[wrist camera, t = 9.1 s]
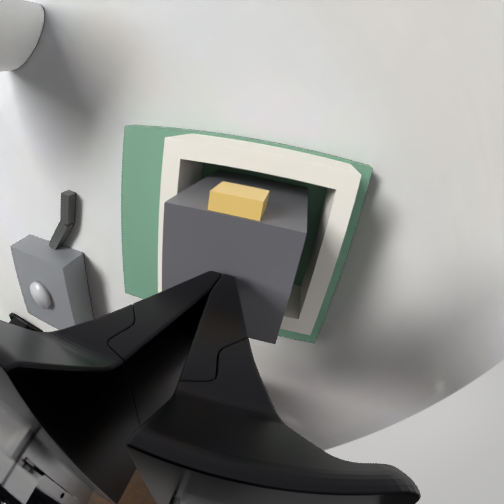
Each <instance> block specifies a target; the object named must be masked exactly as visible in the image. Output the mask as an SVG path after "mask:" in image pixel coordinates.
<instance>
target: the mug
mask: <svg viewBox="0 0 504 504" xmlns="http://www.w3.org/2000/svg"><path fill="white" fill-rule="evenodd" d="M43 24H44V10H43V8H42V6H41V5H40V4H38V3H34V2H30V1H25V0H0V71H10V70H15V69H18V68H19V67H21V66H22V65H23V64H24V63H25V62H26V61H27V59H28V58H29V57H30V55H31V54H32V52H33V50H34V49H35V47H36V45H37V42H38V40H39V38H40V35H41V32H42V28H43Z"/></svg>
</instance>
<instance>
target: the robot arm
mask: <svg viewBox="0 0 504 504" xmlns="http://www.w3.org/2000/svg"><path fill="white" fill-rule="evenodd" d="M9 316H10V319H11V321H10V322H9V323H7V322H4V321H1V320H0V504H4V502H5V503H6V504H87V503H88V502H89V500H90V498H91V496H92V494H93V493H95V494H96V495H98V496H100V497H102V498H104V499H106V500H108V501H110V502H112V503H114V504H118V502H119V501H120V499H121V497H122V495H123V493H124V491H125V489H126V487H127V486H128V484H129V482H130V480H131V478H132V476H133V474H134V472H135V470H136V469H138V471H139V473H140V475H141V477H142V479H143V480H144V482H145V484H146V486H147V488H148V489H149V491H150V493H151V495H152V496H153V498H154V500H155V501H156V503H157V504H415V503H416V502H417V501H418V500H419V499H420V497H421V495H420V492H419V490H418V487H417V486H416V485H415V483H414V482H413V481H412V479H410V478H409V477H408V476H407V475H406V474H405V473H403V472H402V471H401V470H399V469H398V468H396V467H394V466H391V465H387V464H377V463H375V464H374V463H373V464H372V463H370V464H369V463H355V462H349V461H345V460H341V459H339V458H336V457H333V456H331V455H330V454H328V453H326V452H325V451H323V450H322V449H320V448H318V447H317V446H315V445H314V444H312V443H311V442H309V441H308V440H307V439H305V438H304V437H302V436H301V435H299V434H298V433H296V432H295V431H294V430H292V429H291V428H289V427H288V426H287V425H285V424H284V422H283V421H282V420H281V419H280V418H279V416H278V414H277V413H276V411H275V409H274V406H273V404H272V402H271V400H270V397H269V395H268V393H267V391H266V388H265V386H264V384H263V381H262V379H261V377H260V374H259V372H258V369H257V367H256V364H255V361H254V358H253V354H252V351H251V347H250V342H249V339H248V333H247V329H246V324H245V319H244V315H243V310H242V305H241V300H240V295H239V290H238V286H237V281H236V277H235V276H232V275H227V274H223V275H222V273H219V272H215V271H208V272H205V273H203V274H201V275H198V276H196V277H194V278H191V279H189V280H187V281H185V282H182V283H180V284H178V285H175V286H173V287H171V288H168V289H166V290H164V291H161V292H159V293H157V294H155V295H152V296H150V297H148V298H145V299H143V300H141V301H138V302H136V303H134V304H133V305H132V304H131V305H129V306H127V307H124V308H122V309H119V310H117V311H114V312H112V313H109V314H107V315H104V316H101V317H98V318H95V319H92V320H89V321H86V322H83V323H80V324H77V325H73V326H70V327H67V328H64V329H61V330H57V331H53V332H41V331H40V330H39V329H38V328H36V327H34V326H33V325H31V324H29V323H28V322H26V321H24V320H23V319H21V318H20V317H18V316H17V315H15V314H13V313H11V314H9Z"/></svg>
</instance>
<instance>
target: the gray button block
mask: <svg viewBox="0 0 504 504" xmlns="http://www.w3.org/2000/svg"><path fill="white" fill-rule="evenodd" d="M75 201H76V193H75V192H72V191H70V190H68V191H65V192H63V193H61V221H60V222H59V224H58V226H57V228H56V230H55V232H54V234H53V236H52V238H51V240H50V241H47V240H44V239H41V238H38V237H35V236H32V235H28V236H27V237H25V238H23V239H22V240H20V241H18V242H17V243H15V244H13V245H12V246H11V251H12V256H13V260H14V265H15V269H16V273H17V277H18V280H19V284H20V288H21V291H22V295H23V298H24V301H25V304H26V307H27V311H28V313H30V314H31V315H33V316H35V317H37V318H38V319H40V320H42V321H44V322H46V323H47V324H49V325H51V326H53V327H55V328H57V329H59V330H61V329H64V328H67V327H70V326H73V325H77V324H80V323H83V322H86V321H89V320H92V319H94V316H93V311H92V306H91V301H90V295H89V290H88V283H87V277H86V270H85V262H84V254H83V252H80V251H76V250H73V249H70V248H67V247H64V246H62V244H63V242H64V240H65V239H66V237H67V235H68V233H69V232H70V230H71V228H72V226H73V225H74V223H73V222H74V221H75Z"/></svg>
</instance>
